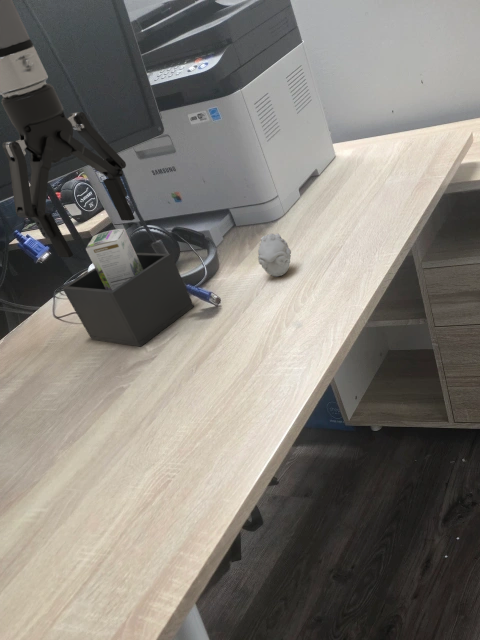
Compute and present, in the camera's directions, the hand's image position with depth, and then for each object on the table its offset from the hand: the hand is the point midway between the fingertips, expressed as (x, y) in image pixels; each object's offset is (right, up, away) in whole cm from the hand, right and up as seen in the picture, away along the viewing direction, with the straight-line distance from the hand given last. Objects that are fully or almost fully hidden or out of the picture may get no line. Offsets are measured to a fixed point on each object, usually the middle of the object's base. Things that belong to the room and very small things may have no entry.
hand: (98, 237), depth 106 cm
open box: (+4, -11, +10) cm, 16 cm away
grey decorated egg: (+28, -2, +13) cm, 31 cm away
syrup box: (+4, -10, +10) cm, 15 cm away
